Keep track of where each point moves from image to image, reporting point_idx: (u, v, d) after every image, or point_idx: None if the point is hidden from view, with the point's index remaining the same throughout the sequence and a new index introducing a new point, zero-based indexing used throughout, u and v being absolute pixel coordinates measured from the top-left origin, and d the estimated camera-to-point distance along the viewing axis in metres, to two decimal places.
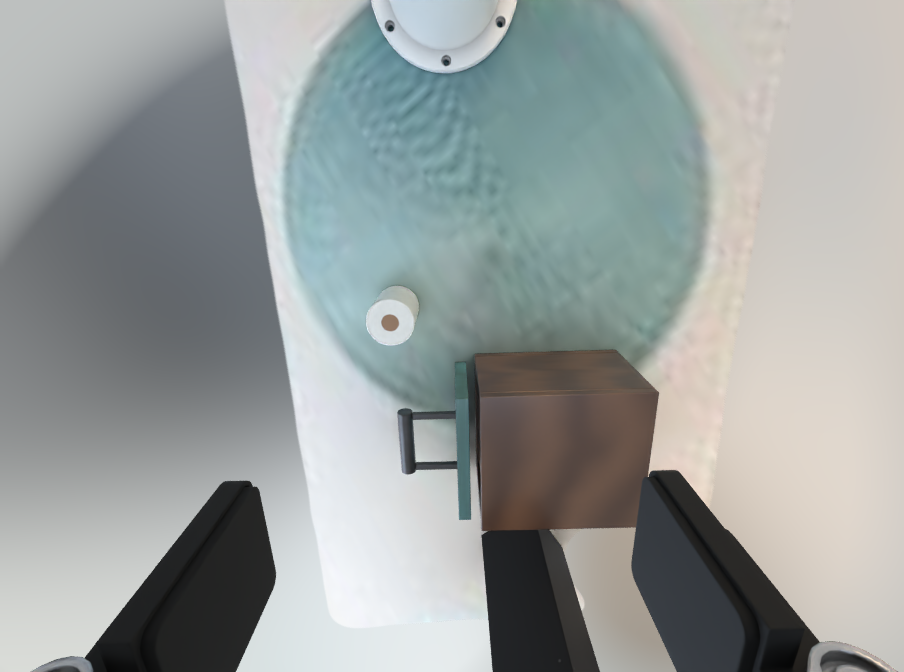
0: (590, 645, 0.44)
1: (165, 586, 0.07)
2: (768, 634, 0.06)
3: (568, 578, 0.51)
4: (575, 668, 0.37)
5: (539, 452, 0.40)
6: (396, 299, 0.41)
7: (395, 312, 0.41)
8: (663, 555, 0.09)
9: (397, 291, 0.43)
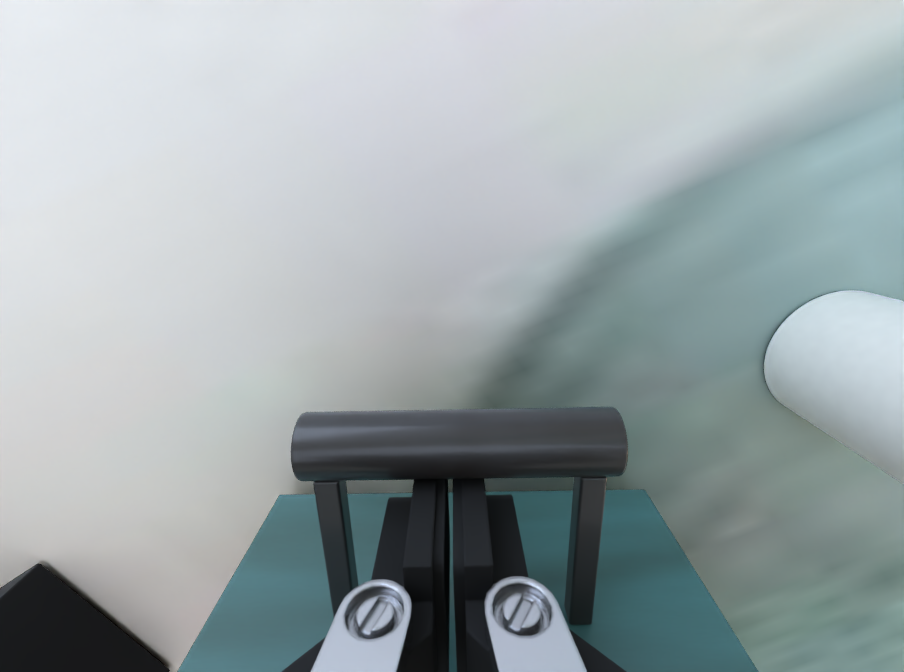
0: None
1: (429, 526, 0.08)
2: (467, 570, 0.08)
3: None
4: None
5: None
6: None
7: None
8: None
9: None
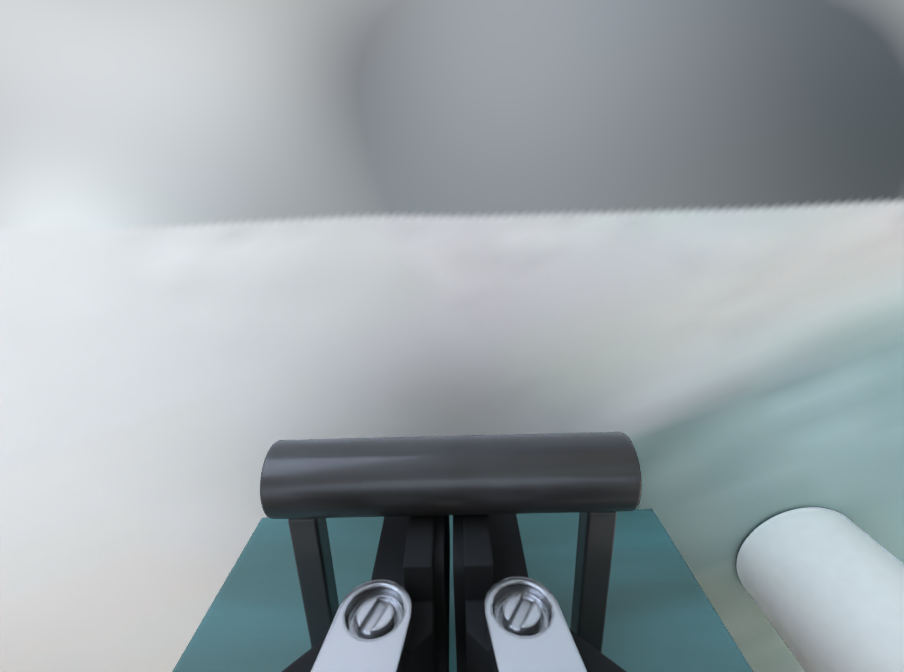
0: None
1: (429, 526, 0.08)
2: (467, 570, 0.08)
3: None
4: None
5: None
6: None
7: None
8: None
9: None
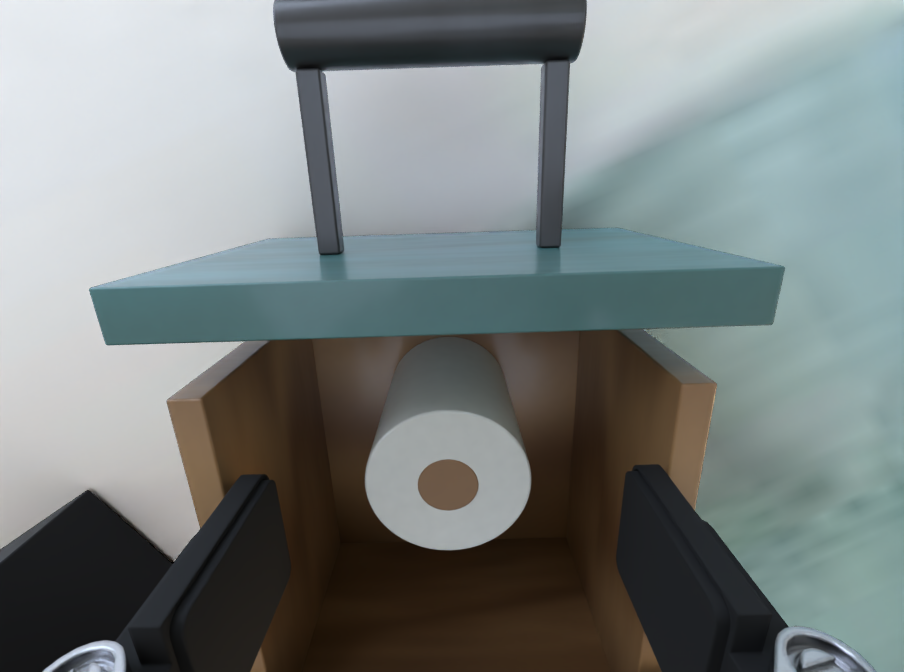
0: None
1: (191, 574, 0.08)
2: (738, 619, 0.07)
3: None
4: None
5: None
6: None
7: (428, 516, 0.12)
8: (644, 547, 0.09)
9: None
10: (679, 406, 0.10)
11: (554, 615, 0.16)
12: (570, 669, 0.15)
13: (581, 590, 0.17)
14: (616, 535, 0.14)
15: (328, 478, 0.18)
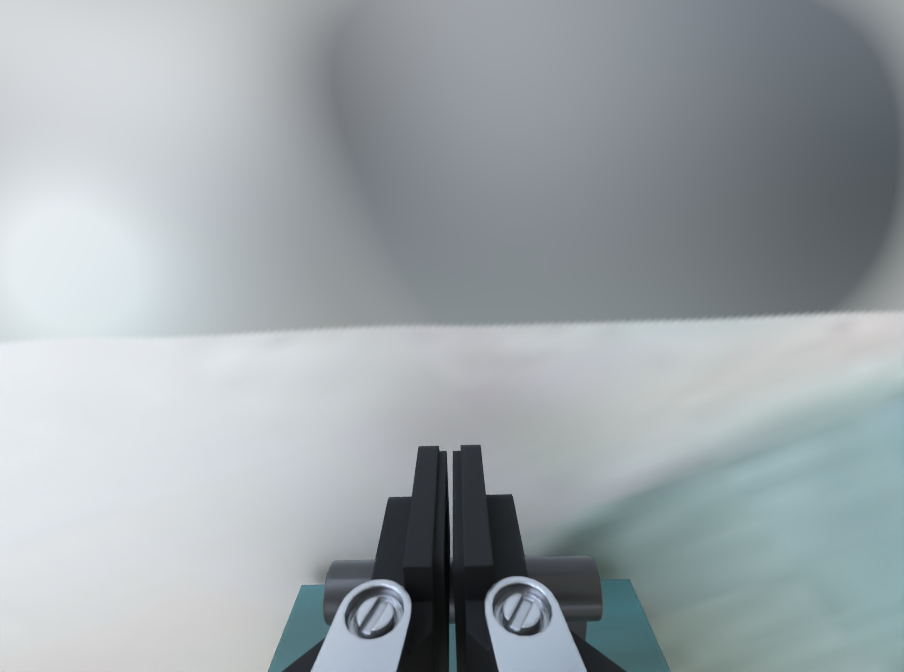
0: None
1: (429, 526, 0.08)
2: (467, 570, 0.08)
3: None
4: None
5: None
6: None
7: None
8: None
9: None
10: None
11: None
12: None
13: None
14: None
15: None
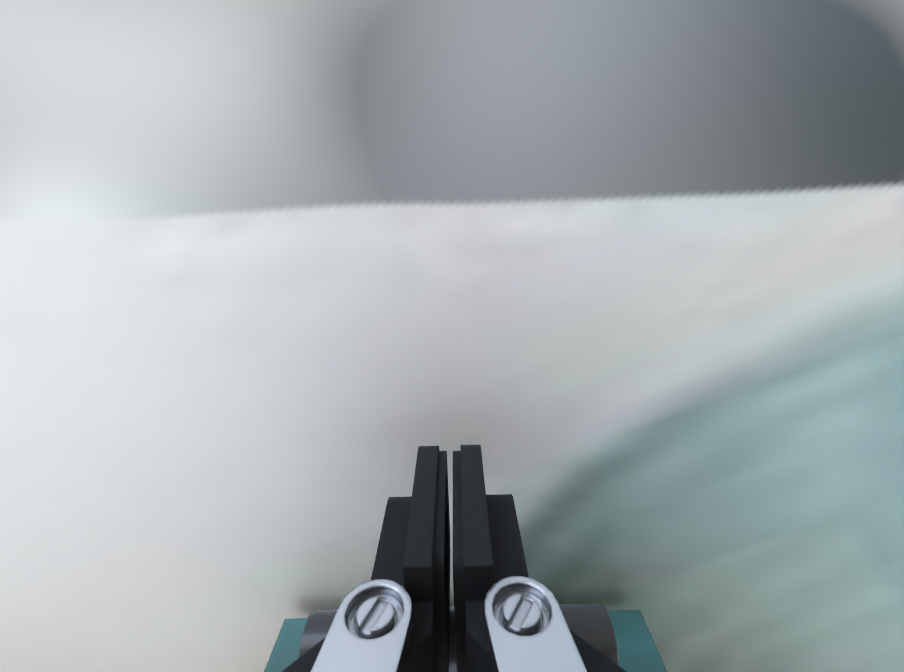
0: None
1: (429, 526, 0.08)
2: (467, 570, 0.08)
3: None
4: None
5: None
6: None
7: None
8: None
9: None
10: None
11: None
12: None
13: None
14: None
15: None
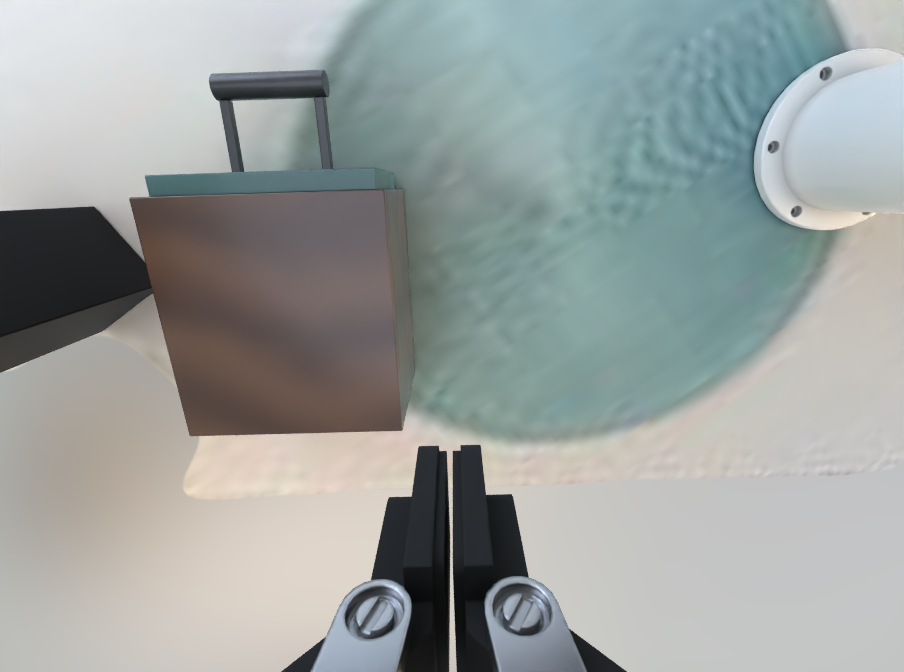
0: None
1: (429, 526, 0.08)
2: (467, 570, 0.08)
3: (57, 345, 0.33)
4: None
5: (296, 286, 0.27)
6: None
7: None
8: None
9: None
10: None
11: None
12: None
13: None
14: None
15: None
